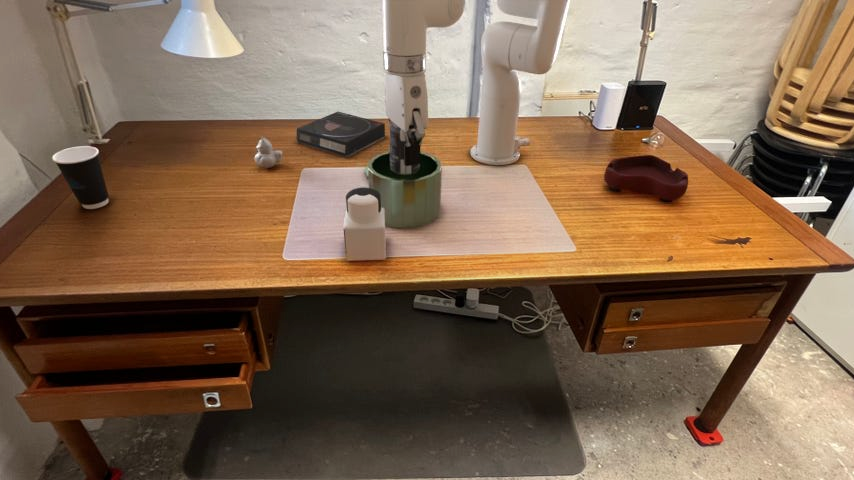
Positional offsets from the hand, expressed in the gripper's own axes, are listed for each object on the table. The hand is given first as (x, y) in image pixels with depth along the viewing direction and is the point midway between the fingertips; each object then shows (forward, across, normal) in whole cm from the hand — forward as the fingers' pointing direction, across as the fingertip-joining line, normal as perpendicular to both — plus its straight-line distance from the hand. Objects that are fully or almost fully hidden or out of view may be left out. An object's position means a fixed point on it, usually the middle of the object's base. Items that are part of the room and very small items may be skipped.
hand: (405, 157), depth 100 cm
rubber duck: (+12, +33, +21) cm, 41 cm away
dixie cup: (+12, +29, +58) cm, 66 cm away
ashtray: (+12, -12, -56) cm, 58 cm away
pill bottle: (+3, 0, 0) cm, 3 cm away
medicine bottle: (+12, -11, +13) cm, 21 cm away
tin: (+12, 0, 0) cm, 12 cm away
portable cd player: (+12, +42, 0) cm, 44 cm away
